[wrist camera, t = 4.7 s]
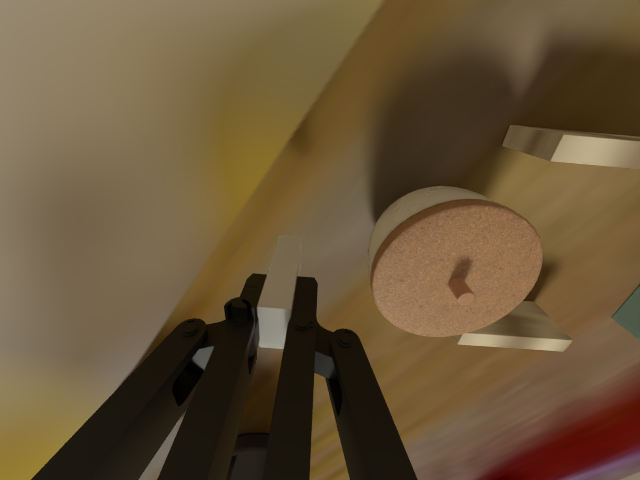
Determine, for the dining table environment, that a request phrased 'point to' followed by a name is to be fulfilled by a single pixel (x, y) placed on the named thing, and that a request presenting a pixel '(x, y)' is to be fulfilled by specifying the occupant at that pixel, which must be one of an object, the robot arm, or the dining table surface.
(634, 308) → the bar
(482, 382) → the dining table surface
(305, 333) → the robot arm
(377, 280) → the lidded jar
